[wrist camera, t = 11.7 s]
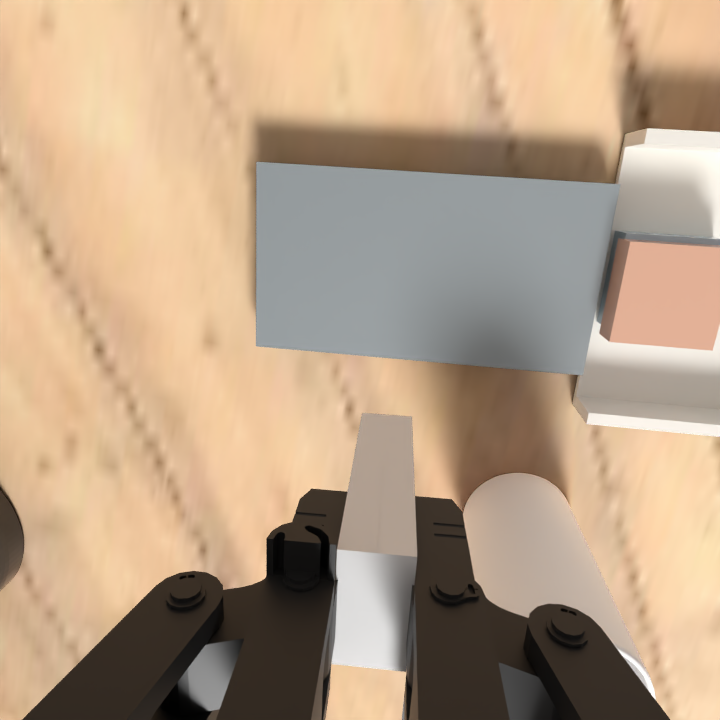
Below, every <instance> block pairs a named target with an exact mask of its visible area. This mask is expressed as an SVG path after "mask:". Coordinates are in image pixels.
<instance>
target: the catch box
mask: <svg viewBox="0 0 720 720" xmlns="http://www.w3.org/2000/svg"><path fill="white" fill-rule="evenodd" d="M615 184H621V185H620V190H619V195H618V200H617V205H616V210H615V215H614V220H613V225H612V231H611V236H610V241H609V246H608V251H607V256H606V261H605V266H604V271H603V276H602V281H601V286H600V291H599V296H598V301H597V306H596V311H595V316H594V321H593V326H592V332H591V337H590V342H589V347H588V352H587V357H586V362H585V367H584V372H583V375H578V377H577V382H576V387H575V393H574V398H573V403H572V404H573V406H574V407H575V408H576V410H577V411H578V413H579V414H580V416H581V417H582V418H583V420H584V421H585V423H586V424H592V425H602V426H613V427H623V428H633V429H644V430H654V431H665V432H675V433H686V434H696V435H706V436H717V437H720V325H719V329H718V332H717V336H716V340H715V343H714V347H713V351H711V350H699V349H687V348H675V347H663V346H652V345H640V344H628V343H616V342H609V341H608V340H606V339H605V338H604V337H603V336H601V335H600V334H599V331H600V326H601V324H599V323H598V322H597V318H598V313H599V308H600V303H601V298H602V293H603V288H604V283H605V278H606V273H607V268H608V263H609V258H610V253H611V248H612V243H613V238H614V233H615V230H616V231H630V232H645V233H660V234H674V235H689V236H704V237H715V238H720V132H708V131H690V130H671V129H652V128H646V129H642V130H638V131H635V132H631V133H627V134H625V136H624V141H623V146H622V152H621V157H620V162H619V167H618V172H617V177H616V182H615Z"/></svg>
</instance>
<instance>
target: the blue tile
mask: <svg viewBox="0 0 720 720" xmlns="http://www.w3.org/2000/svg"><path fill="white" fill-rule="evenodd" d="M618 238H621V239H636V240H650V241H664V242H679V243H693V244H708V245H720V238H715V237H704V236H689V235H674V234H660V233H645V232H630V231H616V230H615V233H614V238H613V243H612V248H611V253H610V258H609V263H608V268H607V273H606V278H605V283H604V288H603V293H602V298H601V303H600V308H599V313H598V318H597V322H598V323H599V324H601V321H602V317H603V312H604V307H605V302H606V297H607V292H608V287H609V282H610V277H611V272H612V267H613V262H614V257H615V252H616V247H617V242H618Z"/></svg>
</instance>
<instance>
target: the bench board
mask: <svg viewBox="0 0 720 720" xmlns="http://www.w3.org/2000/svg"><path fill="white" fill-rule="evenodd" d="M620 185H621V184H608V183H592V182H575V181H559V180H543V179H527V178H511V177H494V176H478V175H462V174H446V173H430V172H414V171H397V170H381V169H365V168H349V167H333V166H317V165H300V164H284V163H268V162H256V346H259V347H270V348H281V349H292V350H304V351H315V352H326V353H337V354H349V355H360V356H371V357H382V358H393V359H405V360H416V361H427V362H438V363H450V364H461V365H472V366H483V367H494V368H506V369H517V370H528V371H539V372H551V373H562V374H573V375H583V372H584V367H585V362H586V357H587V352H588V347H589V342H590V337H591V332H592V326H593V321H594V316H595V311H596V306H597V301H598V296H599V291H600V286H601V281H602V276H603V271H604V266H605V261H606V256H607V251H608V246H609V241H610V236H611V231H612V225H613V220H614V215H615V210H616V205H617V200H618V195H619V190H620Z"/></svg>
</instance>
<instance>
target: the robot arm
mask: <svg viewBox="0 0 720 720" xmlns="http://www.w3.org/2000/svg"><path fill="white" fill-rule="evenodd" d="M23 551H24V541H23V534H22V530H21V526H20V523H19V520H18V518H17V515H16V513H15V511H14V509H13V508H12V506H11V504H10V503H9V501H8V500H7V498H6V497H5V496H4V494H3V493H2V492H1V491H0V591H1V590H2V589H3V588H4V587H5V586H6V585H7V584H8V583H9V582H10V581H11V580H12V579H13V578H14V576H15V575H16V573H17V572H18V570H19V568H20V565H21V562H22V558H23ZM331 662H332V664H337V665H346V666H356V667H366V668H375V669H385V670H394V671H404V672H406V668H407V674H406V684H405V694H404V704H403V714H402V720H670V719H669V717H668V716H667V715H666V713H665V712H664V711H663V709H662V708H661V707H660V705H659V704H658V703H657V701H656V700H655V699H654V697H653V696H652V695H651V693H650V692H649V691H648V689H647V688H646V687H645V685H644V684H643V683H642V681H641V680H640V679H639V677H638V676H637V675H636V673H635V672H634V671H633V669H632V668H631V667H630V665H629V664H628V663H627V661H626V660H625V659H624V657H623V656H622V655H621V653H620V652H619V651H618V649H617V648H616V647H615V645H614V644H613V643H612V641H611V640H610V639H609V637H608V636H607V635H606V633H605V632H604V631H603V629H602V628H601V627H600V626H599V625H598V624H597V623H596V622H595V621H594V620H593V619H592V618H591V617H589V616H588V615H586V614H584V613H583V612H581V611H579V610H578V609H575V608H572V607H569V606H566V605H562V604H545V605H541V606H537V607H536V608H535V609H534V610H533V611H532V612H530V614H529V618H527V617H524V616H521V615H518V614H515V613H512V612H510V611H507V610H505V609H503V608H500V607H498V606H497V605H495V604H494V603H492V602H490V601H489V600H488V599H487V598H486V597H485V594H484V592H483V590H482V588H481V586H480V585H479V584H478V583H477V582H476V581H475V578H474V573H473V568H472V562H471V557H470V551H469V546H468V540H467V535H466V529H465V524H464V518H463V513H462V511H461V510H460V509H459V507H458V506H457V505H456V504H455V503H454V501H453V500H452V499H441V498H430V497H418V496H415V484H414V457H413V431H412V417H411V416H398V415H385V414H372V413H362V416H361V422H360V427H359V433H358V438H357V443H356V449H355V454H354V460H353V465H352V471H351V476H350V482H349V487H348V492H343V491H331V490H320V489H311V490H310V491H309V492H308V493H306V494H305V495H304V496H303V497H302V498H301V499H300V501H299V504H298V507H297V510H296V514H295V516H294V519H293V522H291V523H287V524H284V525H281V526H279V527H278V528H276V529H274V530H273V531H272V532H271V533H270V535H269V536H268V537H267V575H266V578H265V579H264V580H262V581H260V582H258V583H255V584H253V585H249V586H245V587H240V588H234V589H227V590H223V585H222V584H221V583H220V581H219V580H218V579H217V578H216V577H214V576H212V575H210V574H208V573H205V572H197V571H191V572H183V573H178V574H176V575H173V576H171V577H168V578H166V579H165V580H163V581H162V582H161V583H159V584H158V585H156V586H155V587H154V588H153V589H152V590H151V591H150V592H149V593H148V594H147V595H146V596H145V597H144V598H143V599H142V600H141V601H140V602H139V603H138V604H137V605H136V606H135V607H134V608H133V609H132V610H131V611H130V612H129V613H128V614H127V615H126V616H125V617H124V618H123V619H122V620H121V621H120V622H119V623H118V624H117V625H116V626H115V627H114V628H113V629H112V630H111V631H110V632H109V633H108V634H107V635H106V636H105V637H104V638H103V639H102V640H101V641H100V642H99V643H98V644H97V645H96V646H95V647H94V648H93V649H92V650H91V651H90V652H89V653H88V654H87V655H86V656H85V657H84V658H83V659H82V660H81V661H80V662H79V663H78V664H77V665H76V666H75V667H74V668H73V669H72V670H71V671H70V672H69V673H68V674H67V675H66V676H65V677H64V678H63V679H62V680H61V681H60V682H59V683H58V684H57V685H56V686H55V687H54V688H53V689H52V690H51V691H50V692H49V693H48V694H47V695H46V696H45V697H44V698H43V699H42V700H41V701H40V702H39V703H38V704H37V705H36V706H35V707H34V708H33V709H32V710H31V711H30V712H29V713H28V714H27V715H26V716H25V717H24V718H23V719H22V720H325V717H326V711H327V704H328V697H329V690H330V672H331Z"/></svg>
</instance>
